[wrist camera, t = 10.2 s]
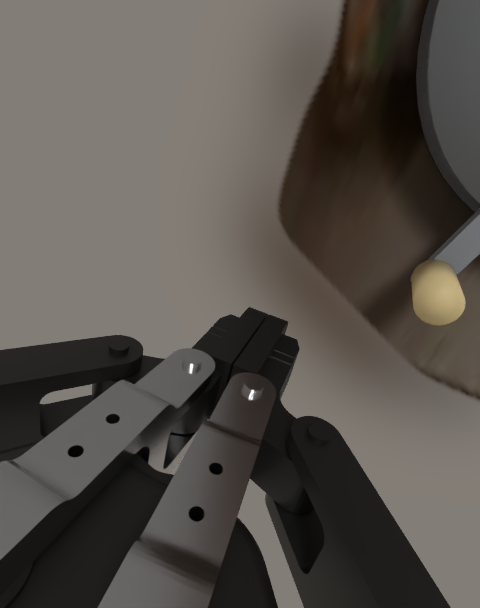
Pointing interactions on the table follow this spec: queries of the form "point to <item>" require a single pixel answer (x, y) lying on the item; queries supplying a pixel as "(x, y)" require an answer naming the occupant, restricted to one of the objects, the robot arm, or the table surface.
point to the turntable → (453, 151)
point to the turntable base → (425, 113)
